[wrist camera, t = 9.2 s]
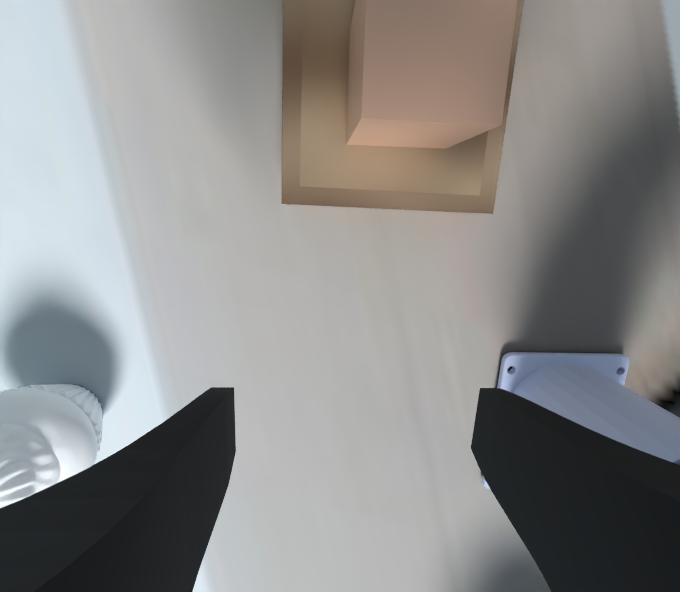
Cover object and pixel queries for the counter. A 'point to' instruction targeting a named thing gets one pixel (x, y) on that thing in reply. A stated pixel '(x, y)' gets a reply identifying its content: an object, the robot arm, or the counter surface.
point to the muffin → (45, 437)
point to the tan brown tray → (363, 160)
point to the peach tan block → (427, 70)
